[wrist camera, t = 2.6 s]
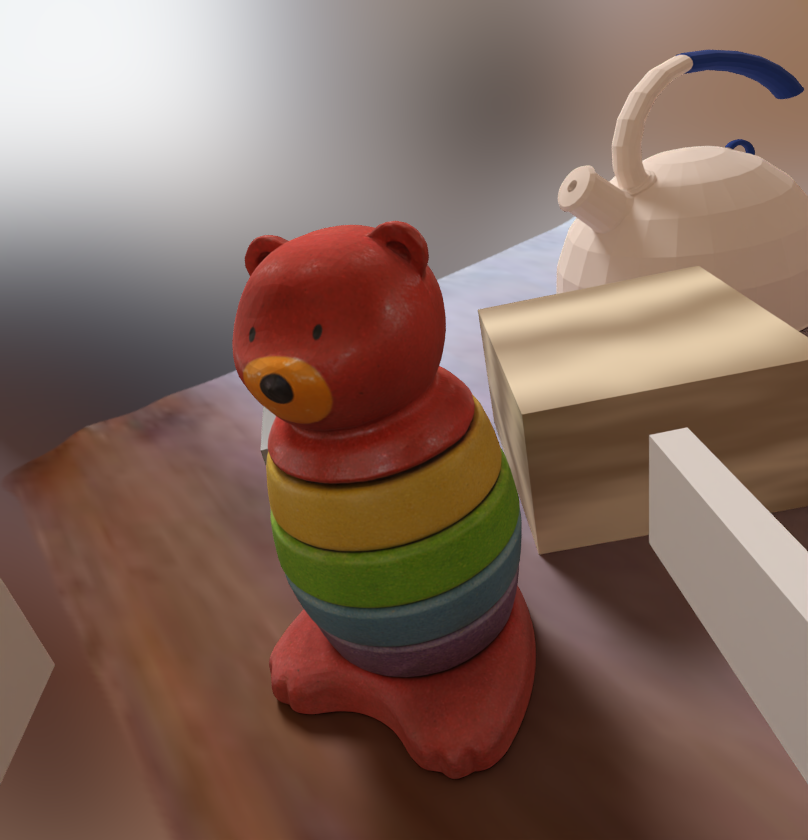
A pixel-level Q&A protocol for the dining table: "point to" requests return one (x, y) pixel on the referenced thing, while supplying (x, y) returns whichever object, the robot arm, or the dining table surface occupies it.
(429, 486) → the stacking bear
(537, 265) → the dining table surface
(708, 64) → the kettle
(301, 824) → the dining table surface
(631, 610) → the dining table surface
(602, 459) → the birch block
